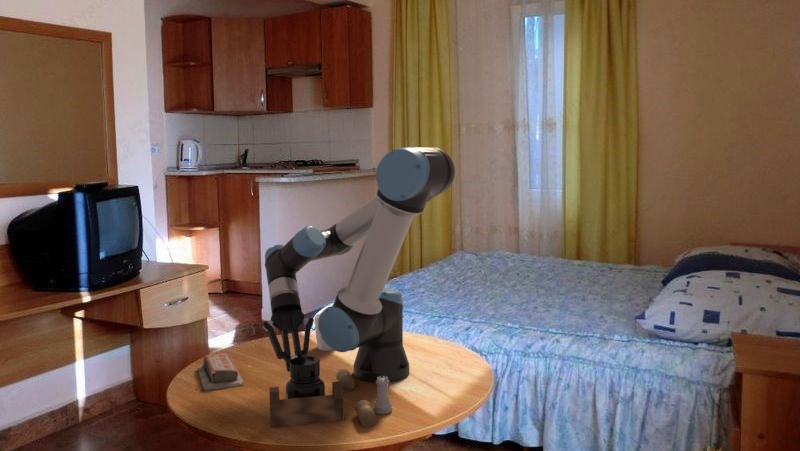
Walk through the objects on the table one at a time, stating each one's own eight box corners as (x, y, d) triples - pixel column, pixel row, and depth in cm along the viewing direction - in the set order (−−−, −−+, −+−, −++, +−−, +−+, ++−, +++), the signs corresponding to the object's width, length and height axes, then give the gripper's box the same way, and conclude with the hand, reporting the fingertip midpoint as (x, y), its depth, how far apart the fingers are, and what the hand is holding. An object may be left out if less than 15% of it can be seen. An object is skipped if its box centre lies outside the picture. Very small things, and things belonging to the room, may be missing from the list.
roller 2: (354, 415, 155) (355, 399, 154) (369, 415, 155) (371, 400, 155) (359, 427, 148) (361, 411, 147) (375, 427, 149) (377, 411, 148)
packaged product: (196, 354, 187) (232, 349, 191) (196, 371, 187) (233, 366, 191) (203, 374, 170) (243, 368, 174) (204, 392, 171) (244, 387, 175)
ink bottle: (305, 400, 164) (304, 352, 162) (334, 408, 159) (333, 358, 157) (277, 413, 156) (275, 363, 154) (305, 422, 151) (304, 370, 149)
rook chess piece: (377, 416, 154) (377, 382, 153) (370, 409, 158) (369, 376, 157) (395, 413, 156) (395, 379, 155) (388, 406, 160) (387, 373, 159)
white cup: (339, 351, 203) (339, 318, 202) (313, 351, 203) (312, 318, 202) (342, 343, 211) (341, 312, 209) (317, 343, 211) (316, 312, 210)
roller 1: (341, 385, 177) (333, 374, 176) (352, 376, 177) (344, 366, 176) (345, 394, 170) (337, 383, 169) (357, 385, 170) (348, 375, 169)
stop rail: (341, 415, 155) (341, 381, 154) (343, 420, 152) (343, 385, 151) (270, 422, 151) (269, 387, 150) (270, 427, 148) (269, 392, 147)
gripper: (308, 305, 180) (322, 386, 166) (258, 308, 176) (268, 392, 162) (311, 289, 175) (326, 372, 161) (260, 293, 171) (270, 378, 157)
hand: (297, 382), depth 162 cm, fingers closed
